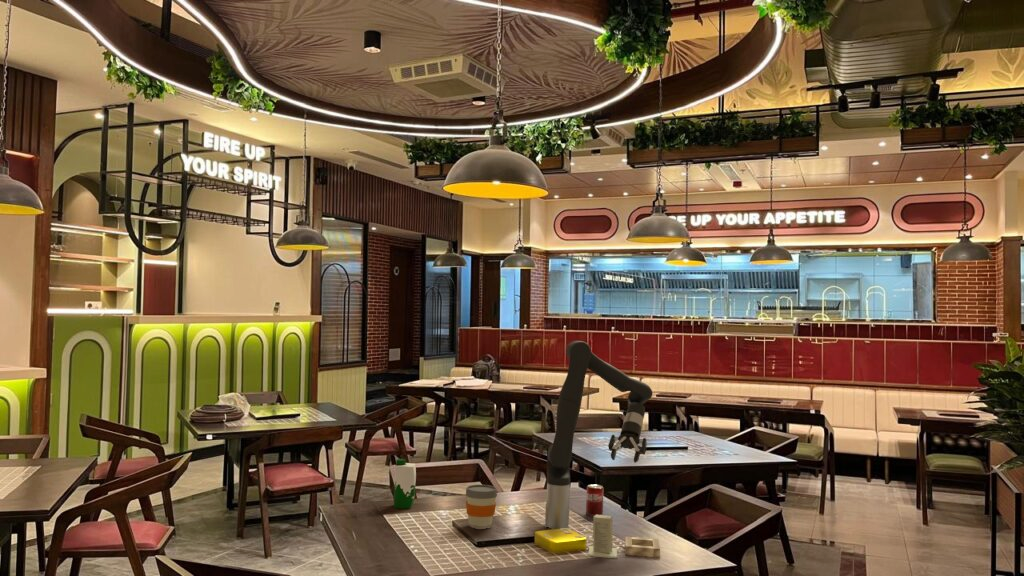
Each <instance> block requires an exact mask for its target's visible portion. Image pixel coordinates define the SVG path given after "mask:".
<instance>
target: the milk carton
mask: <svg viewBox="0 0 1024 576" xmlns="http://www.w3.org/2000/svg"><path fill="white" fill-rule="evenodd" d="M416 465H417V464H416V463H412V462H411V463H410V462H406V458H397V459H396V463H395V466H394V478H393V479H394V481H393V482H394V483H393V508H394V509H407V510H408V509H411V508H412V507H413V505H414V501H415V496H416V479H417V472H416V471H417V469H416V468H417V466H416Z"/></svg>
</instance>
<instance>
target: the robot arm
mask: <svg viewBox="0 0 1024 576" xmlns="http://www.w3.org/2000/svg"><path fill="white" fill-rule="evenodd" d="M565 354H566V357H567V359H568V360H569V361H568V370H567V374H566V377H565V380H564V382H563V385H562V386H561V389H560V392H559V396H558V401H557V407H556V418H555V420H556V424H555V427H556V429H555V434H554V438H553V443H552V444H551V445H549V446H548V449H547V457H546V458H547V459H546V481H547V482H546V503H545V517H544V522H545V523H544V528H546V527H549V528H548V529H550V528H551V529H550V530H552V529H561V528H568V529H569V527H570V497H571V496H570V495H571V494H570V493H571V490H570V489H571V475H570V474H571V473H570V466H571V465H570V464H571V461H572V458H573V445H574V443H573V442H574V437H575V435H574V434H575V431H576V427H577V425H578V421H579V415H580V412H581V408H582V403H583V402H582V400H583V394H584V388H585V379H586V374H587V371H588V370H589V371H591V372H592V373H594V374H595V375H597V377H599V378H601V379H602V380H604V381H605V382H607V383H608V384H609V385H610V386H612V387H613V388H615V390H618V391H619V392H620V393H626V392H629V393H628V395H627V410H626V414H625V417H624V418H623V424H622V427H621V430H620V433H619V436H615V434H612V435H611V436H610V439H609V442H608V446H607V447H608V450H609V451H610V458H611V459H612V460H613V461H615V459H616V457H617V456H616V455H617V452H618V451H620V450H622V449H629V450H632V449H633V450H634V456H633V463H637V462H639V460H640V457H641V456H640V455H646V452H647V451H646V450H647V445H648V441H647V438H646V437H643V438H641V432H642V429H643V425H644V418H645V415H646V408H645V406H644V404H645V403H646V402H647V401H649V400H650V399H651V398H652V396H653V390H652V388H651V387H650V386H649V385H648V384H647V383H645V382H643V381H641V380H638V379H635V378H632V377H630V376H628V375H627V374H626V373H625V372H623V371H622V370H619V368H616V367H615V366H613V365H612V364H609V363H608V362H606V361H604V360H603V359H601V358H600V357H598V355H596V354H595V353H593V352H592V349H591V346H590V345H589V344H588V343H587V342H585V341H583V340H573V341H571V342H570V343H569V344H568V345H567V346H566V349H565ZM640 438H641V439H640ZM615 443H616V444H615ZM639 444H640V445H641V448H639V446H638V445H639Z"/></svg>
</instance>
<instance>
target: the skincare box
mask: <svg viewBox="0 0 1024 576" xmlns="http://www.w3.org/2000/svg"><path fill="white" fill-rule="evenodd" d="M592 517H593V518H592V519H593V521H592V522H593V528H592V529H593V533H592V535H593V536H592V537H593V538H592V539H593V540H592V543H593V544H592V546H593V551H595V552H603V553H610V552H611V551H612V548H613V516H612V515H605V514H602V515H595V516H592Z"/></svg>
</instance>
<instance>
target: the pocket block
mask: <svg viewBox="0 0 1024 576" xmlns="http://www.w3.org/2000/svg"><path fill="white" fill-rule="evenodd" d="M624 550H625V556H634V555H637V556H636V557H646V556H647V557H648V558H658V557H659V559H660V558H661V547H660V540H659V539H658V538H646V537H636V536H635V537H634V536H625V549H624Z"/></svg>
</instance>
